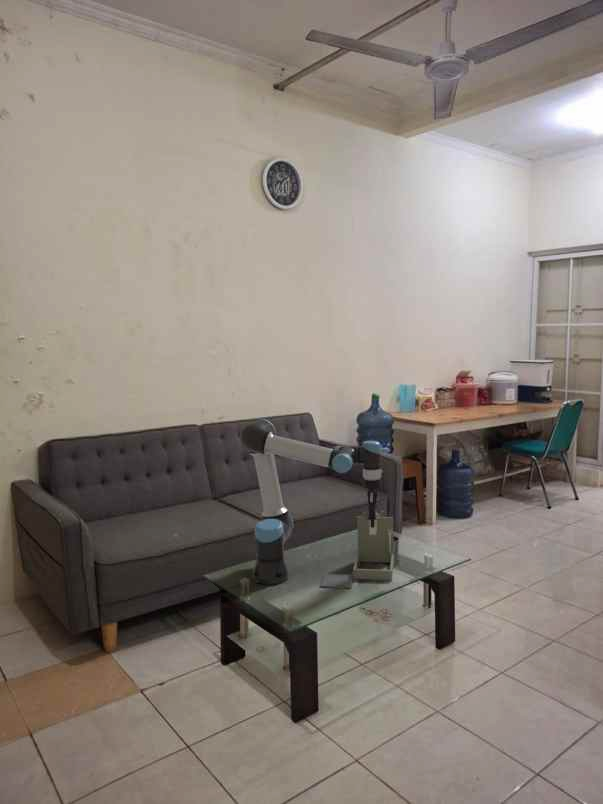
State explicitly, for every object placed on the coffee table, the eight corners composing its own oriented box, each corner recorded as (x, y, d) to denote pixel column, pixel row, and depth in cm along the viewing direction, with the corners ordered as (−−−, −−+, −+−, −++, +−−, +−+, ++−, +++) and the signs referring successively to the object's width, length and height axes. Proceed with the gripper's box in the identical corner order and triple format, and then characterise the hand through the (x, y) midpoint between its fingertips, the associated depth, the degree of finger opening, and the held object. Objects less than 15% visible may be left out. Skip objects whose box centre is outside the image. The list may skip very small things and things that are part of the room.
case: (353, 578, 241) (352, 531, 239) (358, 560, 261) (357, 516, 259) (391, 580, 238) (391, 532, 236) (393, 561, 258) (393, 517, 256)
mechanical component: (384, 535, 245) (384, 511, 244) (360, 534, 247) (359, 510, 246) (385, 532, 248) (385, 509, 247) (360, 531, 250) (360, 508, 249)
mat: (320, 587, 234) (320, 585, 234) (324, 575, 246) (324, 573, 246) (350, 588, 232) (350, 587, 231) (353, 576, 243) (353, 575, 243)
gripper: (380, 483, 236) (381, 539, 239) (382, 473, 252) (383, 527, 254) (361, 482, 238) (362, 539, 240) (364, 473, 253) (365, 526, 256)
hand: (373, 532), depth 247 cm, fingers closed on mechanical component, 3 cm apart
